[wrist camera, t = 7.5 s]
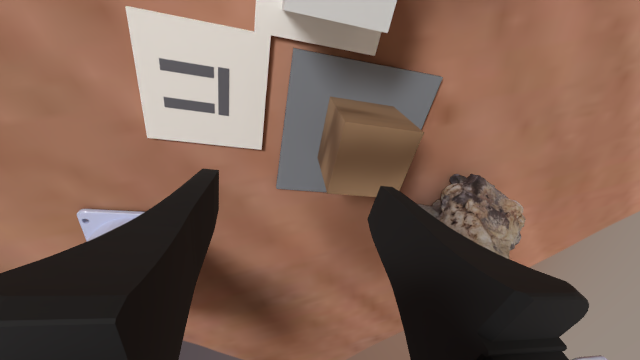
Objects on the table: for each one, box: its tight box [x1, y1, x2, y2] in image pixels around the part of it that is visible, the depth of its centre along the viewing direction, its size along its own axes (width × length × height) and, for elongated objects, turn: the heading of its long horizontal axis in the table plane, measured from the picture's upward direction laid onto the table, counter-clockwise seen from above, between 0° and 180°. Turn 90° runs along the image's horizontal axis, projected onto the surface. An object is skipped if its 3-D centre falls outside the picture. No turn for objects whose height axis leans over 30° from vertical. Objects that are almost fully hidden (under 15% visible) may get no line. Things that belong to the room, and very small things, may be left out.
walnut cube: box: [317, 97, 424, 197], centre depth 19 cm, size 5×5×5 cm
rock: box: [417, 174, 525, 259], centre depth 24 cm, size 9×12×10 cm
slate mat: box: [276, 48, 443, 192], centre depth 21 cm, size 11×11×1 cm
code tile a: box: [125, 6, 271, 150], centre depth 18 cm, size 8×8×1 cm
